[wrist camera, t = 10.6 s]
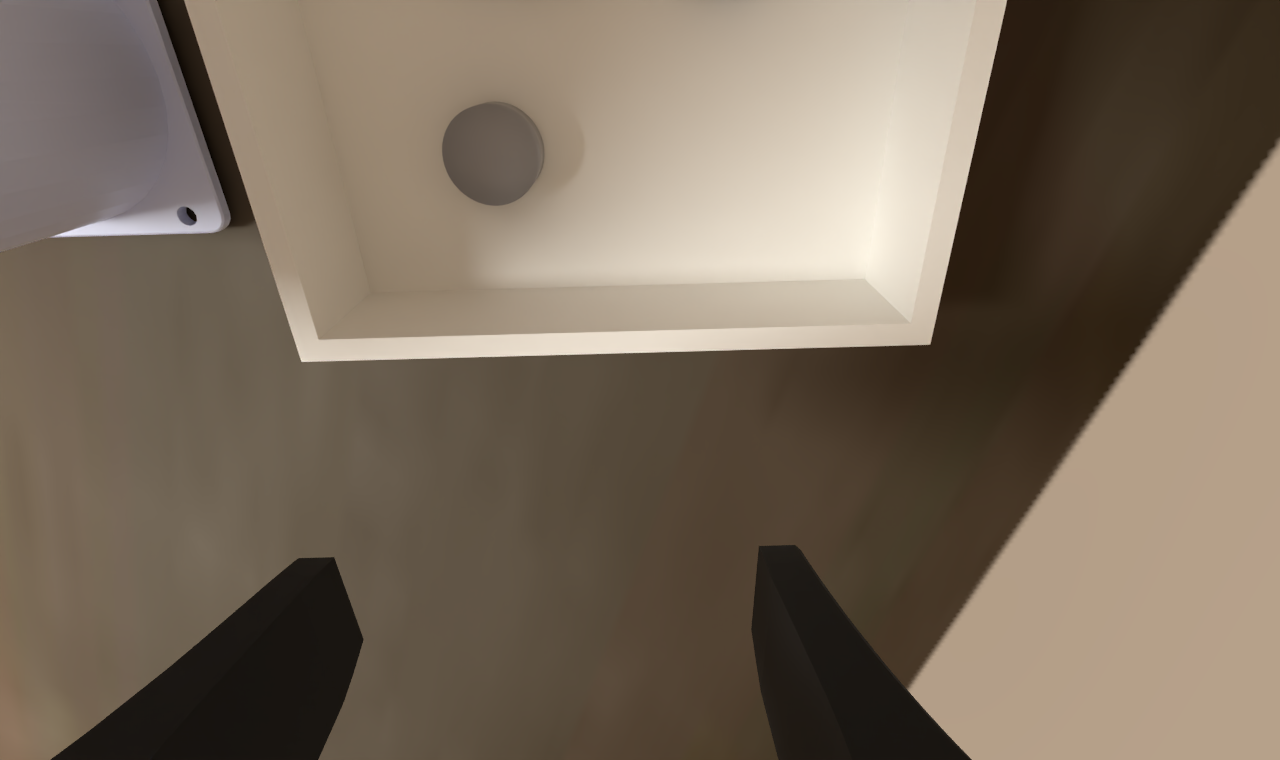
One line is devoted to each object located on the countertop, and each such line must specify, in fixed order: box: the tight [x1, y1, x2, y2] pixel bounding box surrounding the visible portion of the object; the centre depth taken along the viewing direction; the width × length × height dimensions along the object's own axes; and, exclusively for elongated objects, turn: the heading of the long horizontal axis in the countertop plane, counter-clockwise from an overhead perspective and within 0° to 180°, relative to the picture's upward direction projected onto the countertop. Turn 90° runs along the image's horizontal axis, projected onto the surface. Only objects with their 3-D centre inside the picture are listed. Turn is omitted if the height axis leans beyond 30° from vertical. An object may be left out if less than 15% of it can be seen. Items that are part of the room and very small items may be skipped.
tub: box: [184, 0, 1007, 362], centre depth 14 cm, size 16×13×4 cm
